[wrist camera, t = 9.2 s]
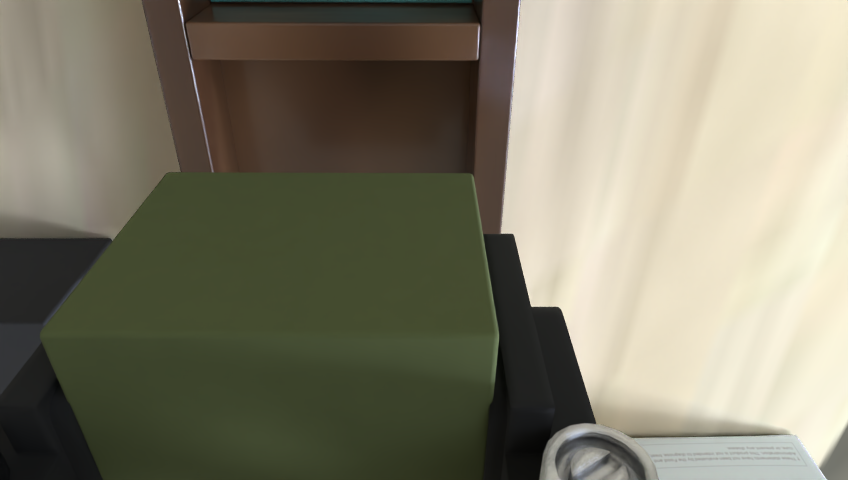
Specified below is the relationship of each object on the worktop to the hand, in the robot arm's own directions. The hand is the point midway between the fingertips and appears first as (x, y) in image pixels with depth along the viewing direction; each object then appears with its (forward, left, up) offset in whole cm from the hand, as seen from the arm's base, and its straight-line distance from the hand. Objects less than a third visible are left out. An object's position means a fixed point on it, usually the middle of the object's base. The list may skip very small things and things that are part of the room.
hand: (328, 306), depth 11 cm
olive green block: (0, 0, 0) cm, 0 cm away
